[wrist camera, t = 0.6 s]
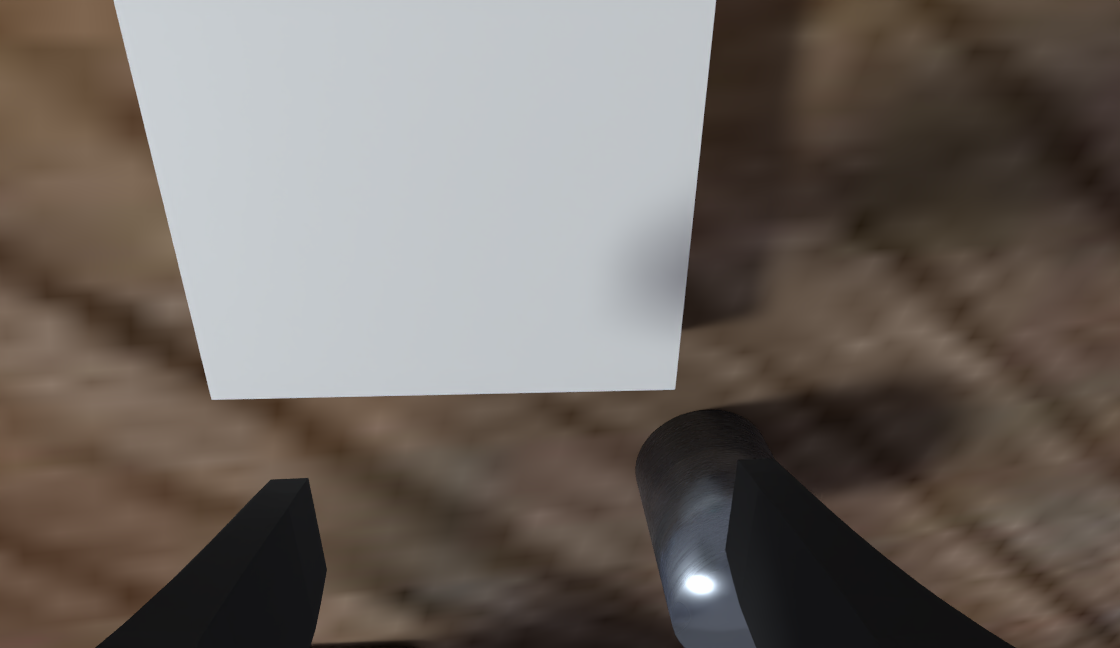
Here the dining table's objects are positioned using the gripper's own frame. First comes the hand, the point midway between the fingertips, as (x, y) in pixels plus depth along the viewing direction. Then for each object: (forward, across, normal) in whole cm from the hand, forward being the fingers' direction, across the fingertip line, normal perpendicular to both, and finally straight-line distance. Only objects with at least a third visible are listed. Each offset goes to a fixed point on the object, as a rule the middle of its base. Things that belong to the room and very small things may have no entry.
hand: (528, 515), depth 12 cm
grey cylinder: (+10, -6, +7) cm, 13 cm away
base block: (+10, +2, -4) cm, 11 cm away
